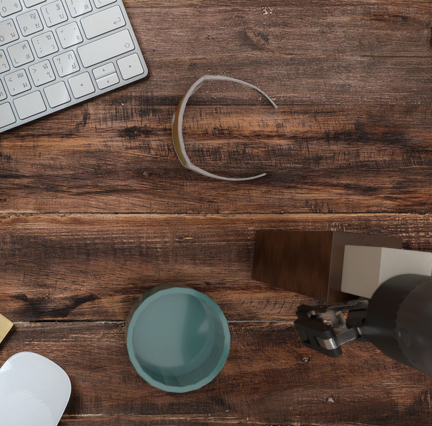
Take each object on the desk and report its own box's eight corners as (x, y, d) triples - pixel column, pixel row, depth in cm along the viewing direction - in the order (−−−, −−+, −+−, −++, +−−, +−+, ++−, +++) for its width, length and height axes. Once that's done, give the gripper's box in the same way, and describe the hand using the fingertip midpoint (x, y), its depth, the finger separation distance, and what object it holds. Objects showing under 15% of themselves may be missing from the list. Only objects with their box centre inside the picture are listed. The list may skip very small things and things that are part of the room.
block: (385, 296, 47) (429, 305, 41) (340, 291, 46) (377, 300, 40) (389, 249, 47) (433, 252, 41) (344, 244, 47) (382, 247, 41)
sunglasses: (176, 73, 69) (187, 62, 64) (271, 96, 71) (289, 88, 66) (159, 170, 68) (169, 166, 63) (255, 190, 71) (273, 188, 66)
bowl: (215, 384, 68) (225, 397, 63) (119, 375, 67) (121, 387, 62) (224, 288, 68) (235, 293, 63) (129, 278, 68) (132, 282, 63)
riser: (299, 284, 68) (397, 310, 47) (251, 279, 68) (326, 302, 46) (303, 235, 69) (403, 238, 47) (256, 230, 68) (333, 230, 47)
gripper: (381, 412, 36) (292, 356, 52) (551, 338, 36) (410, 305, 52) (342, 318, 36) (265, 291, 52) (511, 245, 36) (383, 241, 53)
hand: (338, 298), depth 52 cm, fingers open, 8 cm apart
